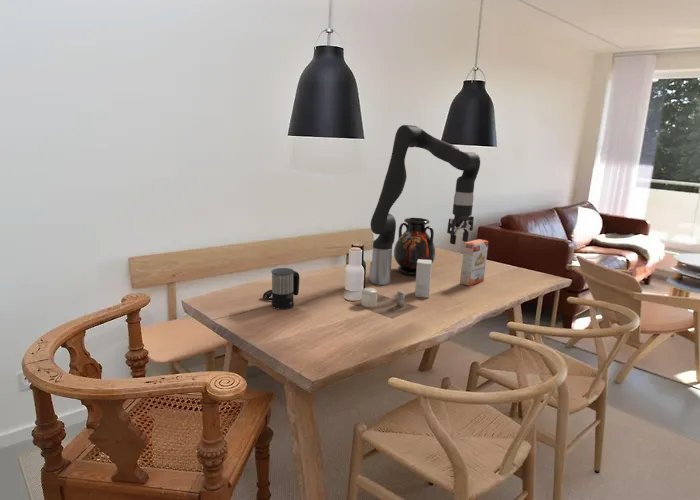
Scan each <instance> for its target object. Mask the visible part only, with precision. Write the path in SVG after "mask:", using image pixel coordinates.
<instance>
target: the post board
mask: <svg viewBox="0 0 700 500" xmlns="http://www.w3.org/2000/svg"><path fill="white" fill-rule="evenodd" d="M396 293H397V295H396V299H394V298H391V297H389V296H385V295H383V294H379V293H377V302H376V306H374V307H366V306H363V305H362V304H361V300H362V298H361V299H359V300H355V301H352V302H349V304H351V305H354V306H355V307H359V308H362V309H365V310H367V311H371V312H373V313H376V314H379V315H382V316H385V317H387V318H390V319H395V318H397V317H401V316H403V315H404V314H406V313H409V312H411V311H414V310H417V309H420V307H419V306H417V305H414V304H410V303H407V302H405V297H406V296H405V295H406V293H405V291H403V290H398V291H397V292H396Z"/></svg>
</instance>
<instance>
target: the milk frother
mask: <svg viewBox="0 0 700 500" xmlns="http://www.w3.org/2000/svg"><path fill="white" fill-rule="evenodd" d="M299 290H300V273H299V272H297V271H296V270H294V269H293V268H288V267H278V268H277V267H276V268H274V269H272V270H271V289H269V290H267V291H265V292H264V293H263V294H262V298H263V300H265V299H267V300H266V301H268V300H272V301H271V304H272V306H273V307H275V308H274V309H276V308H279V309H278V310H288V309H287V308H289V309H291V307H292V308H293V307H294V306H295V303H294V296H298V295H299ZM269 297H270V298H269ZM272 306H271V307H272ZM273 307H272V308H273Z"/></svg>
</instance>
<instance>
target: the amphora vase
mask: <svg viewBox="0 0 700 500" xmlns="http://www.w3.org/2000/svg"><path fill="white" fill-rule="evenodd" d="M428 224H430V220H429V219H426V218H424V217H423V218H422V217H406V218H404V222H402V223H401V224H400V225H399V227H398V239H397V241H396V243H395V244H394V247H393V248H394V249H393V258H394V260H395V262H396V264H397V265H398V267H397V271H398V272H399V273H400V274H403V275H405V276H411V277H412V276H413V277H416V269H417V261H418V259H422V260H432V264H433V263H434V261H435V260H436V247H435V243H434V234H435V233H434V232H435V231H434V229H433V227H432V226H430V225H428ZM426 225H428V226H426ZM403 226H405V228H406V229H405V231H404V232H403V228H404V227H403ZM427 230H429V232H430V235H429V234H428V232H427Z"/></svg>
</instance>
